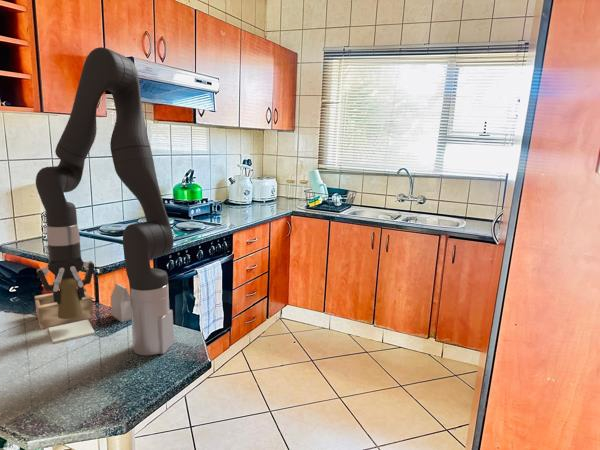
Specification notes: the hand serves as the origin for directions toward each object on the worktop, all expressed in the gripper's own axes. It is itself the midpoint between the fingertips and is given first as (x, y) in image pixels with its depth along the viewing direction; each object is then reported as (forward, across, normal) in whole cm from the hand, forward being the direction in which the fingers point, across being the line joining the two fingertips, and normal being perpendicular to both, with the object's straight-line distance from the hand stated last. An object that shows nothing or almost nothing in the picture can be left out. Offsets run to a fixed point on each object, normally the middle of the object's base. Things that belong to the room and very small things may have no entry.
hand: (69, 300), depth 113 cm
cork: (+4, 0, 0) cm, 4 cm away
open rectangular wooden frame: (+9, 0, -12) cm, 15 cm away
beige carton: (+9, -14, -2) cm, 17 cm away
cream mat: (+9, 0, 0) cm, 9 cm away
